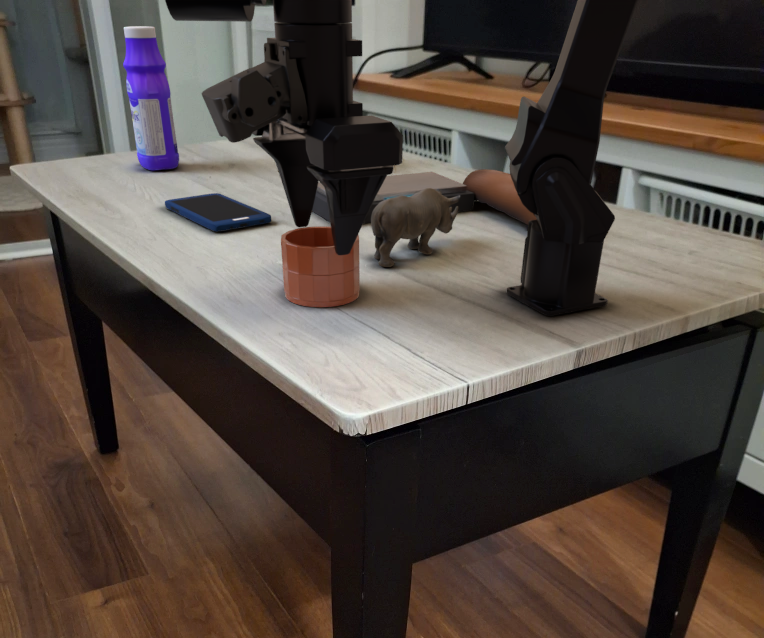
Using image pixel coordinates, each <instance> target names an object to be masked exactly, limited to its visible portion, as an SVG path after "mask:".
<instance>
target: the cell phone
mask: <svg viewBox="0 0 764 638" xmlns="http://www.w3.org/2000/svg"><path fill="white" fill-rule="evenodd" d="M164 206H165V209H167V210H169V211H171V212H174V213H176V214H178V215H179V216H181V217H184V218H186V219H188V220H190V221H192V222H194V223H196V224H197V225H200V226H202V227H203V228H206V229H208V230H210V231H213V232H214V233H215V232H225V231H230V230H235V229H236V230H237V229H242V228H248V227H253V226H259V225H264V224H265V225H266V224H270V223H271V222H272V215H271V214H270V213H267V212H265V211H263V210H261V209H258V208H256V207H253V206H251V205H249V204H246V203H243V202H241V201H238V200H236V199H234V198H232V197H229V196H227V195H225V194H221V193H220V192H219V193H218V192H217V193H216V192H214V193H205V194H199V195H192V196H184V197H179V198H172V199H166V200H164Z"/></svg>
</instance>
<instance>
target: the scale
mask: <svg viewBox="0 0 764 638" xmlns="http://www.w3.org/2000/svg"><path fill="white" fill-rule="evenodd" d="M425 188H432V189H435V190H437V189H440V191H441V195H443V196H445V197H447V198H453V197H456V196H458V195H460V199H459V201H458V202H456V203H454V204H452V205H450V206H449V208H450V207H452V212H451V213H453V211H454V210H455V208H456V207H457V206H458V212H457V213H461V212H462V213H464V212H471V211H472V212H473V211H474V205H475V204H474V203H475V201H474V193H473V192H470V191H468V190H466V189H467V186H466V185H464V184H463V182H459V181H457V180H455V179H452V178H449V177H446V176H443V175H441V174H440V173H436V172H433V171H425V172H414V173H413V172H412V173H402V174H390V175H387V176H386V178H385V180H384V182H383V184H382V186H381V188H380V190H379V192H378V193H377V195H376V197H375V199H374V201H373V203H372V205H371V207H370V209H369V212H368V213H367V216H366V218H365V220H364V222H363V224H369V223H370V224H371V216H372V212H373V210H374V208H375V207H376V206H377V205H378V204H379V203H380V202H382V201H384V200H386V199H390V198H394V197H398V196H406V197H410V196H412V195H414V194H416V193H417V192H419V191H421V190H423V189H425ZM312 213H314V214H316V215H318V216H319V217H321V218H323V219H324V220H326V221H327V222H329V223H330V217H329V211H328V204H327V198H326V191H325V188H324V186H323V185H322V184H321V183H320V182H318V187H317V191H316V196H315V200H314V205H313V209H312Z"/></svg>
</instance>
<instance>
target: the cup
mask: <svg viewBox="0 0 764 638" xmlns="http://www.w3.org/2000/svg"><path fill="white" fill-rule="evenodd" d="M280 247H281V262H282V278H283V291H284V296H285V299H286V300H287V301H288V302H290V303H293V304H295V305H299V306H303V307H309V308H332V307H339V306H344V305H348V304H350V303H353V302H354V301H356V300H357V299H358V298H359V296H360V289H361V288H360V235H359V234H358V236H357V238H356V240H355V243H354V245H353V247H352V249H351V252H350V253H349V254H347V255H337V254H336V252H335V247H334V242H333V237H332V231H331V226H330V225H329V226H325V225H324V226H317V225H315V226H306V227H297V228H294V229H291V230H288V231H285V232H284V233H282V234H281V237H280Z"/></svg>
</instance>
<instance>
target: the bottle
mask: <svg viewBox="0 0 764 638" xmlns="http://www.w3.org/2000/svg"><path fill="white" fill-rule="evenodd" d="M123 32H124V40H125V57H124V61H123V64H122V66H123V68H124V70H125V71H126V82H125V83H126V93H127V96H128V100H129V107H130V114H131V119H132V126H133V133H134V140H135V147H136V156H137V160H138V162H139V164H140V166H141V167H142V168H144V169H146V170H149V171H161V170H173V169H176V168H177V167H178V166H179V162H180V153H179V149H178V142H177V141H178V140H177V135H176V129H175V128H176V127H175V122H174V121H175V120H174V113H173V106H172V100H171V88H170V84H169V81H168V78H167V75H166V73H165V69H166V67H167V63H166V61H165V60H164V58H163V57H162V56H163V55H162V54H161V52H160V50H159V49H160V48H159V46H158V41H157V34H156V27H155V26H150V25H149V26H148V25H141V26H140V25H131V26H124V27H123Z"/></svg>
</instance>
